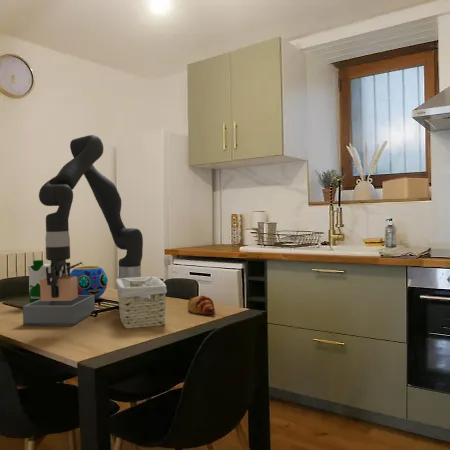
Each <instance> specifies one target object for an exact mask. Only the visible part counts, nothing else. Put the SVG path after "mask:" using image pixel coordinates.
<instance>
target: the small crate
mask: <svg viewBox="0 0 450 450" xmlns="http://www.w3.org/2000/svg"><path fill="white" fill-rule="evenodd" d="M50 280H51V279H50ZM58 286H59V297H58V298H52V297H51V286H50V285H47V277H46V278H43V279H40V296H41V301H71V300H73V299H75V298H77V297H78V287H77V276H76V277H61V279H59V285H58Z"/></svg>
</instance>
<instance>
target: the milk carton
mask: <svg viewBox="0 0 450 450" xmlns="http://www.w3.org/2000/svg"><path fill="white" fill-rule="evenodd" d="M50 265H51V263H44V259H43V260H42V259H35V260H32V264H30V265H27V270H28V281H29V282H28V285H29V286H28V289H29V290H28V292H29V299H28V300H29V304H30V303H32V302H35V301H37V300H40V299H41V296H40V279H43V278H46V267H50Z"/></svg>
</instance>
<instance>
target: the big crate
mask: <svg viewBox="0 0 450 450" xmlns="http://www.w3.org/2000/svg"><path fill="white" fill-rule="evenodd" d="M95 305H96V304H95V299H94V295H78V297H77V298H75V299H73V300H71V301H41V299H40V300H37V301H35V302H32V303H30V302H29V303H28V304H25V305H23V306H22V327H74V326H76V325H77V324H79V323H80V322H82V321H83V320H85V319H87V318H89V317H90V316H91V312H92V311H94V310H95V307H96V306H95ZM95 311H96V310H95Z"/></svg>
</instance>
